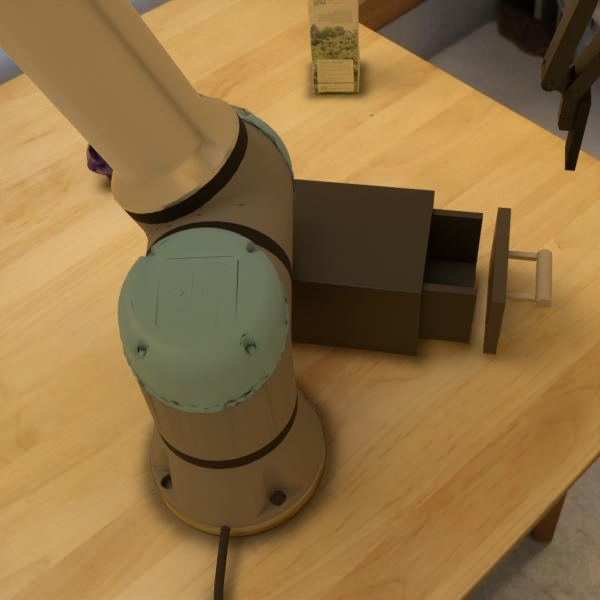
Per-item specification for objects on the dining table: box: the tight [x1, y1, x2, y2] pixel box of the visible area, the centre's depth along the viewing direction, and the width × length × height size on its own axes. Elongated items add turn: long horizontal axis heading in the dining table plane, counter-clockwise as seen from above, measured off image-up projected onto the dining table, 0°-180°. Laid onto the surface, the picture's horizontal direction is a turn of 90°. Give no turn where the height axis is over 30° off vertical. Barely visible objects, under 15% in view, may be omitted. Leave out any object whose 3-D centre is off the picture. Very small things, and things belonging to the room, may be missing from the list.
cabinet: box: [291, 178, 436, 357], centre depth 82 cm, size 15×13×10 cm
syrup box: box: [306, 0, 361, 94], centre depth 102 cm, size 6×6×14 cm
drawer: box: [419, 206, 553, 356], centre depth 80 cm, size 18×11×8 cm, turn 79°
